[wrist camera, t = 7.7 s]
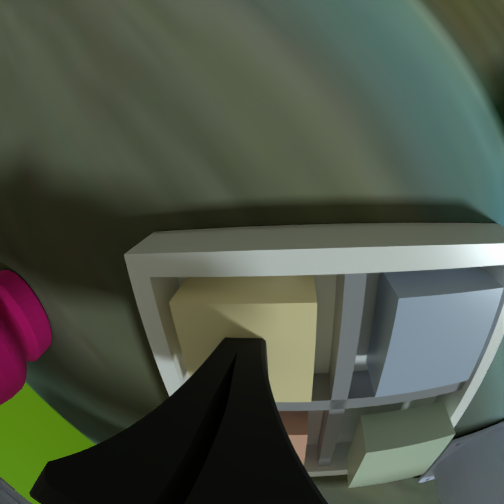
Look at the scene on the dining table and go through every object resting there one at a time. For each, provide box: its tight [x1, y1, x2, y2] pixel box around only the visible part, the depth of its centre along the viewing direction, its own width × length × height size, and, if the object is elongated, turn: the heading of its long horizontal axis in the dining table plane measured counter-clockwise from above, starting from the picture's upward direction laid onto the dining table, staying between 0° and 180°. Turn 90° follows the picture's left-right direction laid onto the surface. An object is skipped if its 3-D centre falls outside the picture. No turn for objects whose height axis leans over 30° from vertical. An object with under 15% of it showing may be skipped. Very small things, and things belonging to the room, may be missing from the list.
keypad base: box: [124, 223, 504, 477], centre depth 11 cm, size 14×14×2 cm
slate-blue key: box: [366, 267, 504, 397], centre depth 9 cm, size 4×4×2 cm
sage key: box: [346, 401, 456, 488], centre depth 11 cm, size 4×4×2 cm
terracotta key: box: [278, 411, 308, 465], centre depth 13 cm, size 4×4×2 cm
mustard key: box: [169, 275, 317, 402], centre depth 10 cm, size 4×4×2 cm
